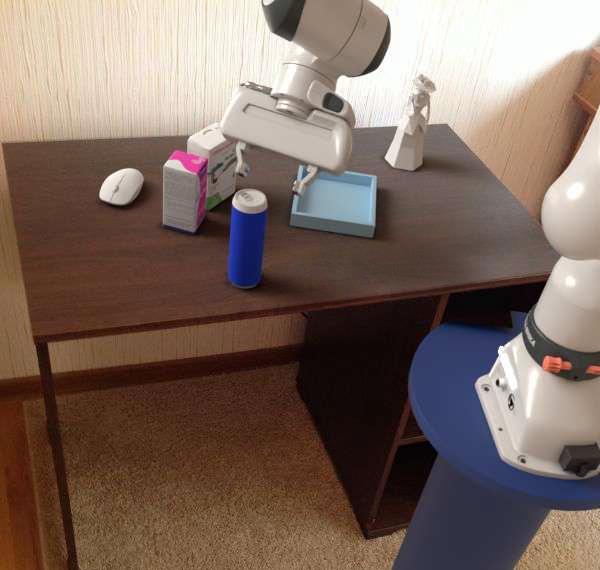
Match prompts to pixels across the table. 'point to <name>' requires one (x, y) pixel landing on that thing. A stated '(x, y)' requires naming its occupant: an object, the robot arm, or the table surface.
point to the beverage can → (247, 237)
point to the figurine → (412, 128)
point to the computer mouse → (121, 187)
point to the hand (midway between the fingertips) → (268, 185)
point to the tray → (337, 203)
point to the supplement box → (184, 191)
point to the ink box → (215, 162)
